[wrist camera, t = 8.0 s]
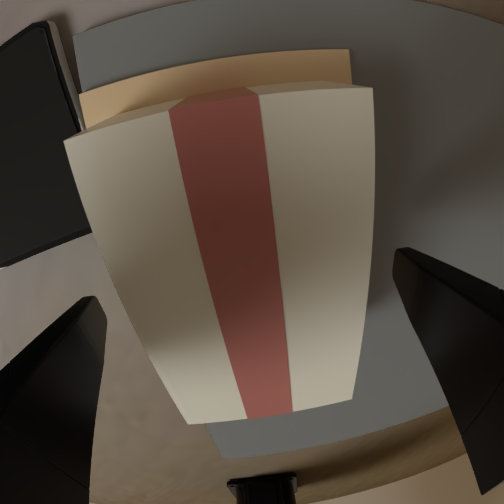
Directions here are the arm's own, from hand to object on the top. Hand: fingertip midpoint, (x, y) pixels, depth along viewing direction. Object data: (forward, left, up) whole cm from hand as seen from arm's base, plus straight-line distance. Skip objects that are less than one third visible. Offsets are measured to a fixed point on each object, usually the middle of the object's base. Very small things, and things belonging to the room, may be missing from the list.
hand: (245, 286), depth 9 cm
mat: (-5, -6, -3) cm, 8 cm away
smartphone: (+4, +12, -4) cm, 13 cm away
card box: (0, 0, -2) cm, 2 cm away
